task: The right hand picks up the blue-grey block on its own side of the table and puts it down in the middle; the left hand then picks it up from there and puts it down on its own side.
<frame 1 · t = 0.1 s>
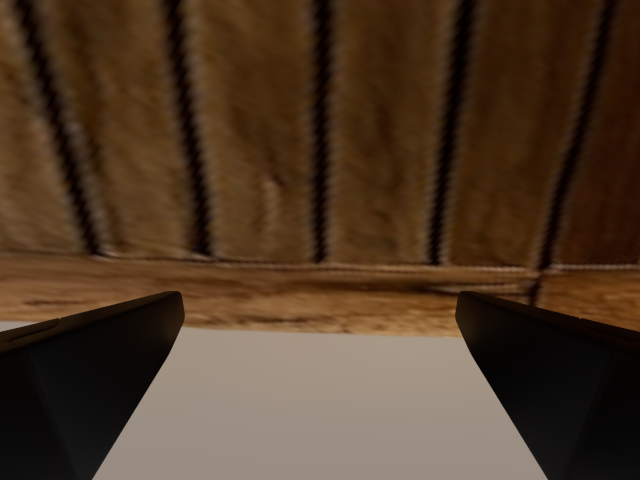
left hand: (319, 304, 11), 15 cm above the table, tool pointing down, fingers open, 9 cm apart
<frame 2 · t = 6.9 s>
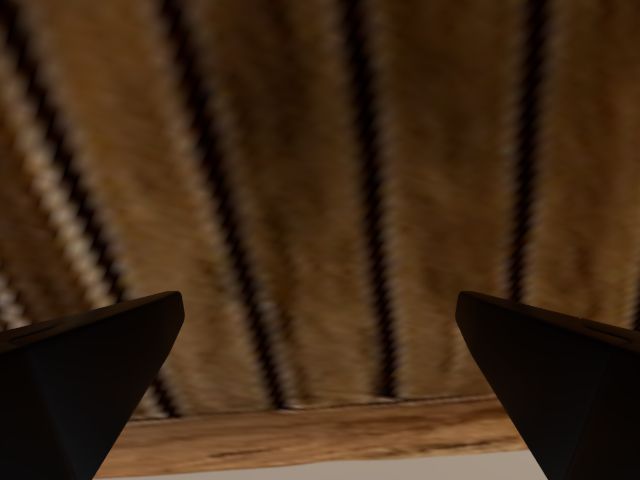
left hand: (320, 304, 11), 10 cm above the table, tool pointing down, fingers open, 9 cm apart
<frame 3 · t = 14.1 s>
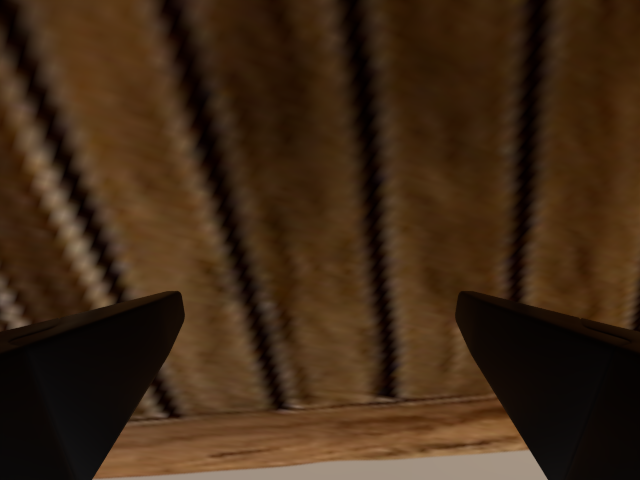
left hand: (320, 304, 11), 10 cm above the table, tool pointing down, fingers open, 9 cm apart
when the right hand's fingers open (1 cm above the table, at t = 21.6 s): blue-grey block drops 1 cm, on the table.
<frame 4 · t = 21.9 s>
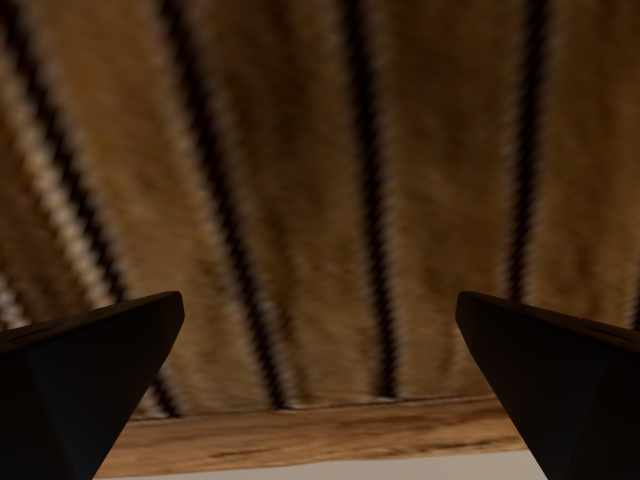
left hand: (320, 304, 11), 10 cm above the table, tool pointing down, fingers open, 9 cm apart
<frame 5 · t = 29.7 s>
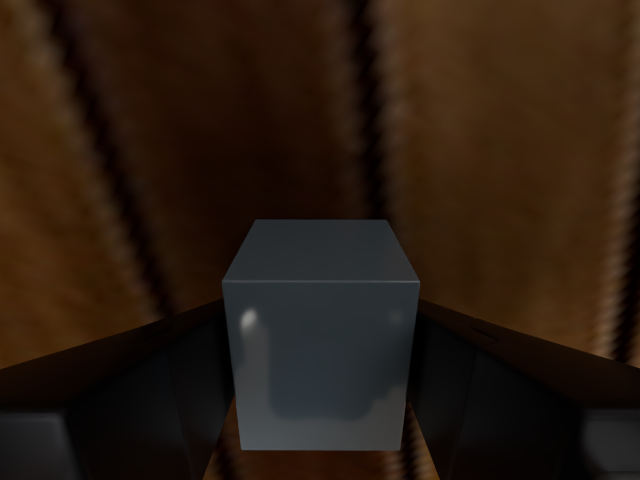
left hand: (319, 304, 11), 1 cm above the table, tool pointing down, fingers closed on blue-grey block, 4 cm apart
blue-grey block: (320, 289, 12), on the table, touching left hand
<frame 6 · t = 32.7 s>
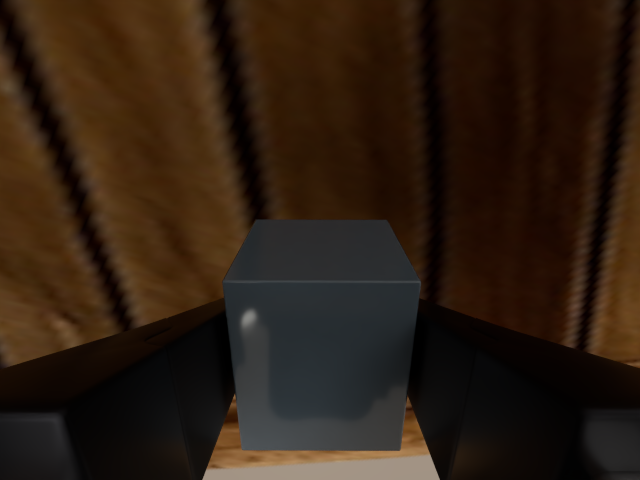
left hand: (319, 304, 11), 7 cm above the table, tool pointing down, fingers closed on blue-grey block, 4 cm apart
blue-grey block: (321, 289, 12), point 6 cm above the table, touching left hand
when the left hand's fingers open (2 cm above the table, at t = 35.7 s): blue-grey block drops 1 cm, on the table.
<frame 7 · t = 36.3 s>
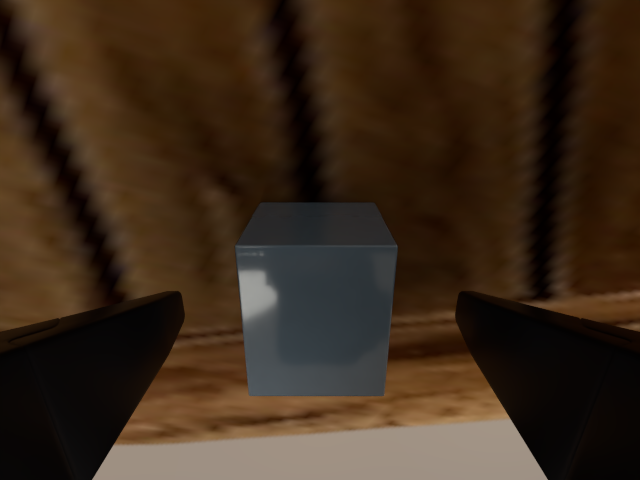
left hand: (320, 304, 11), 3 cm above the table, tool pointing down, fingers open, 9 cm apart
blue-grey block: (317, 265, 14), on the table
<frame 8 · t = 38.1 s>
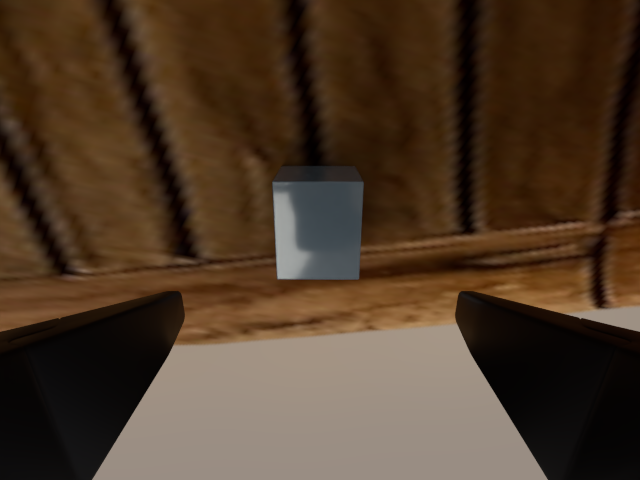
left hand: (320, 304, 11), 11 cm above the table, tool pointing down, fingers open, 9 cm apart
blue-grey block: (318, 208, 21), on the table
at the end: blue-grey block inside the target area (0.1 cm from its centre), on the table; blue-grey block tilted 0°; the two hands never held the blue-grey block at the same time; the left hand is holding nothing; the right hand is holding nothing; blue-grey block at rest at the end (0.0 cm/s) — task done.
